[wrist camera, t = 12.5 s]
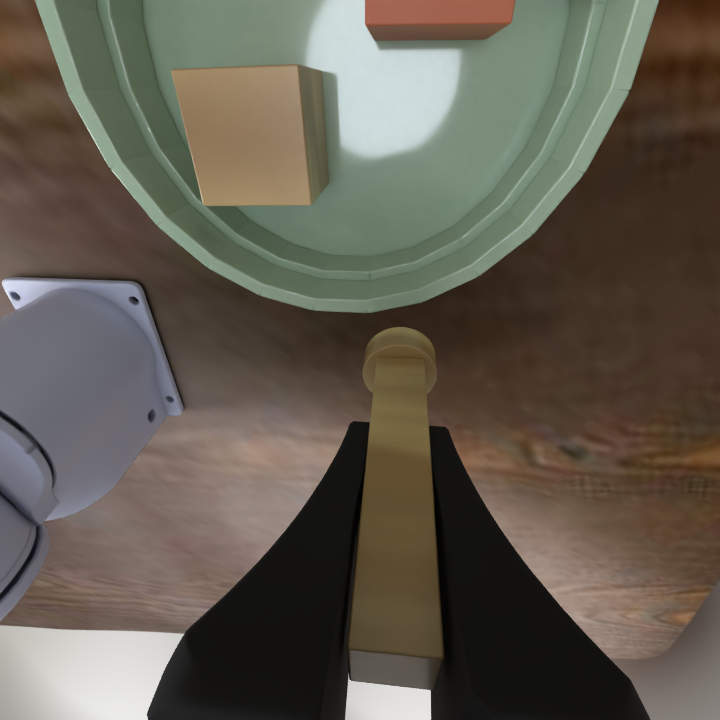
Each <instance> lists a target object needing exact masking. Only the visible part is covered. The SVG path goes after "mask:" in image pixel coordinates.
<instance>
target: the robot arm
mask: <svg viewBox="0 0 720 720" xmlns="http://www.w3.org/2000/svg"><path fill="white" fill-rule="evenodd" d="M2 285H3V288H4V290H5V291H6V293H7V295H8V297H9V299H10V300H11V302H12V304H13V306H14V308H15V309H16V310H15V311H13V312H12V313H10V314H8V315H6V316H5V317H3V318H1V319H0V621H1V620H2V619H3V618H4V617H5V616H6V615H7V614H8V613H9V612H10V611H11V610H12V609H13V608H14V606H15V605H16V604H17V603H18V602H19V601H20V599H21V598H22V597H23V595H24V594H25V593H26V591H27V590H28V589H29V587H30V585H31V584H32V582H33V581H34V579H35V578H36V576H37V575H38V573H39V571H40V569H41V567H42V565H43V563H44V561H45V558H46V556H47V553H48V549H49V543H50V539H49V533H48V530H47V528H46V526H45V525H44V524H43V522H44V521H47V520H53V519H58V518H62V517H66V516H69V515H72V514H74V513H77V512H79V511H81V510H83V509H85V508H86V507H88V506H90V505H91V504H93V503H95V502H96V501H97V500H99V499H100V498H102V497H103V496H104V495H105V494H107V493H108V492H109V491H110V490H111V489H112V488H113V487H114V486H115V485H116V484H117V483H118V482H119V480H120V479H121V478H122V477H123V475H124V474H125V472H126V471H127V470H128V468H129V467H130V466H131V464H132V463H133V462H134V460H135V459H136V457H137V456H138V455H139V453H140V452H141V451H142V449H143V448H144V447H145V445H146V444H147V442H148V441H149V440H150V438H151V437H152V436H153V434H154V433H155V432H156V430H157V429H158V428H159V426H160V425H161V423H162V422H163V421H164V419H165V418H166V417H167V415H170V416H179V415H181V413H182V412H183V410H184V408H183V405H182V402H181V399H180V396H179V393H178V390H177V387H176V384H175V381H174V379H173V376H172V373H171V370H170V367H169V364H168V361H167V358H166V355H165V352H164V349H163V346H162V344H161V341H160V338H159V335H158V332H157V329H156V326H155V323H154V320H153V317H152V314H151V311H150V308H149V306H148V303H147V300H146V297H145V294H144V291H143V289H142V287H141V286H140V285H139V284H138V283H136V282H133V281H115V280H87V279H59V278H31V277H8V278H6V279H4V280H3V281H2ZM133 297H135V298H137V299H138V301H139V302H137V301H136V300H135V299H134V298H133ZM171 397H172V398H171ZM369 427H370V422H356V421H353V422H352V423H350V425H349V428H348V431H347V433H346V435H345V438H344V440H343V442H342V444H341V446H340V448H339V450H338V452H337V454H336V456H335V458H334V460H333V461H332V463H331V465H330V467H329V468H328V470H327V472H326V474H325V475H324V477H323V479H322V480H321V482H320V483H319V485H318V486H317V488H316V489H315V491H314V492H313V494H312V495H311V497H310V498H309V500H308V501H307V503H306V504H305V506H304V507H303V508H302V510H301V511H300V512H299V514H298V515H297V516H296V518H295V519H294V520H293V522H292V523H291V524H290V525H289V527H288V528H287V529H286V530H285V532H284V533H283V534H282V535H281V536H280V538H279V539H278V540H277V541H276V542H275V543H274V545H273V546H272V547H271V548H270V549H269V551H268V552H267V553H266V554H265V555H264V556H263V557H262V558H261V559H260V560H259V562H258V563H257V564H256V565H255V566H254V567H253V568H252V569H251V570H250V571H249V572H248V573H247V574H246V575H245V576H244V577H243V578H242V579H241V580H240V581H239V582H238V583H237V584H236V585H235V586H234V587H233V588H232V589H231V590H230V591H229V592H228V593H227V594H226V595H225V596H224V597H223V598H222V599H221V600H220V601H218V602H217V603H216V604H215V605H214V606H213V607H212V608H211V609H210V610H208V611H207V612H206V613H205V614H204V615H203V616H202V617H201V618H200V619H199V620H197V621H196V622H195V623H194V624H193V625H192V626H191V627H190V628H189V629H188V630H187V631H186V632H185V634H184V636H183V637H182V639H181V641H180V642H179V644H178V646H177V648H176V649H175V651H174V653H173V655H172V657H171V659H170V661H169V663H168V664H167V666H166V668H165V671H164V673H163V675H162V677H161V680H160V682H159V685H158V687H157V690H156V693H155V695H154V697H153V700H152V702H151V705H150V707H149V710H148V713H147V716H148V720H345V709H346V698H347V685H348V674H349V668H348V656H347V639H348V629H349V619H350V610H351V600H352V591H353V581H354V571H355V562H356V552H357V542H358V533H359V523H360V514H361V504H362V494H363V485H364V475H365V466H366V456H367V446H368V437H369ZM429 435H430V450H431V464H432V479H433V494H434V509H435V524H436V539H437V554H438V568H439V583H440V598H441V613H442V628H443V643H444V660H443V663H442V666H441V670H440V673H439V676H438V679H437V683H436V686H435V689H434V690H431V720H650V718H649V716H648V714H647V712H646V710H645V708H644V706H643V704H642V702H641V700H640V698H639V696H638V694H637V692H636V690H635V688H634V686H633V684H632V682H631V680H630V679H629V678H628V677H627V676H626V675H625V674H624V673H623V672H622V671H621V670H620V669H619V668H618V667H617V666H616V665H615V664H614V663H613V662H612V661H611V660H610V659H609V658H608V657H607V656H606V655H605V654H604V653H603V652H602V651H601V650H600V648H599V647H598V646H597V645H596V644H595V643H594V642H593V641H592V640H591V639H590V638H589V637H588V636H587V635H586V634H585V633H584V632H583V631H582V629H581V628H580V627H579V626H578V625H577V624H576V623H575V622H574V621H573V620H572V618H571V617H570V616H569V615H568V614H567V613H566V612H565V611H564V610H563V609H562V607H561V606H560V605H559V604H558V603H557V601H556V600H555V599H554V598H553V597H552V595H551V594H550V593H549V592H548V591H547V589H546V588H545V587H544V586H543V585H542V583H541V582H540V581H539V580H538V579H537V577H536V576H535V575H534V574H533V573H532V571H531V570H530V569H529V568H528V566H527V565H526V564H525V562H524V561H523V560H522V558H521V557H520V556H519V554H518V553H517V552H516V550H515V549H514V548H513V546H512V545H511V543H510V542H509V541H508V539H507V538H506V536H505V535H504V533H503V532H502V530H501V529H500V528H499V526H498V525H497V523H496V521H495V520H494V518H493V517H492V515H491V514H490V512H489V510H488V509H487V507H486V505H485V504H484V502H483V501H482V499H481V497H480V495H479V494H478V492H477V490H476V488H475V486H474V485H473V483H472V481H471V479H470V477H469V475H468V474H467V472H466V470H465V468H464V466H463V464H462V462H461V459H460V457H459V455H458V453H457V451H456V448H455V446H454V444H453V441H452V439H451V436H450V433H449V430H448V429H447V428H446V427H439V426H429Z"/></svg>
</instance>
